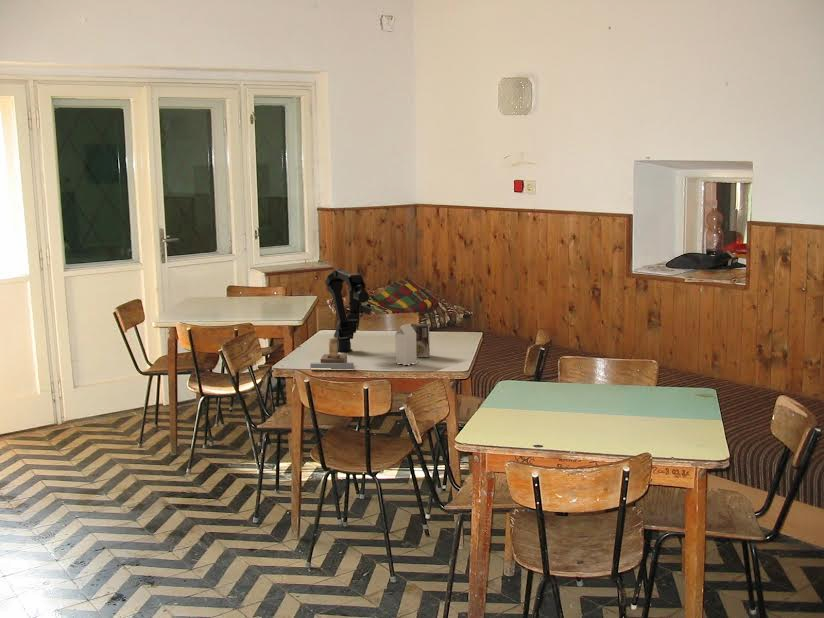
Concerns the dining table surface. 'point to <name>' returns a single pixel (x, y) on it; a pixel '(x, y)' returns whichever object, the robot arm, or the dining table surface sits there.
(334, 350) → the dowel
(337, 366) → the stop rail
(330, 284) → the robot arm
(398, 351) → the milk carton
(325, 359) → the socket block
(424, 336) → the coffee box
